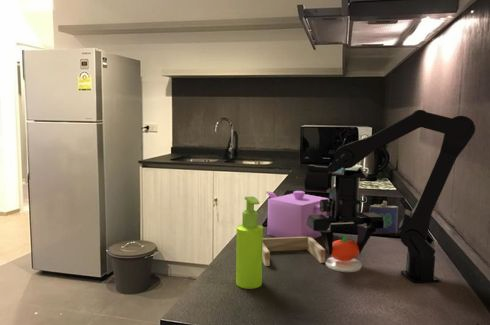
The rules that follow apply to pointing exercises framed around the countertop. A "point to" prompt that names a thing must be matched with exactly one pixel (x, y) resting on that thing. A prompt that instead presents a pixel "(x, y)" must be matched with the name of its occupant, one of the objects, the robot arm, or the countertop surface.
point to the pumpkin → (344, 249)
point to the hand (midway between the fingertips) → (344, 254)
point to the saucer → (343, 265)
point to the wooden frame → (292, 247)
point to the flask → (386, 217)
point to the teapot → (292, 214)
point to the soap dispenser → (249, 248)
